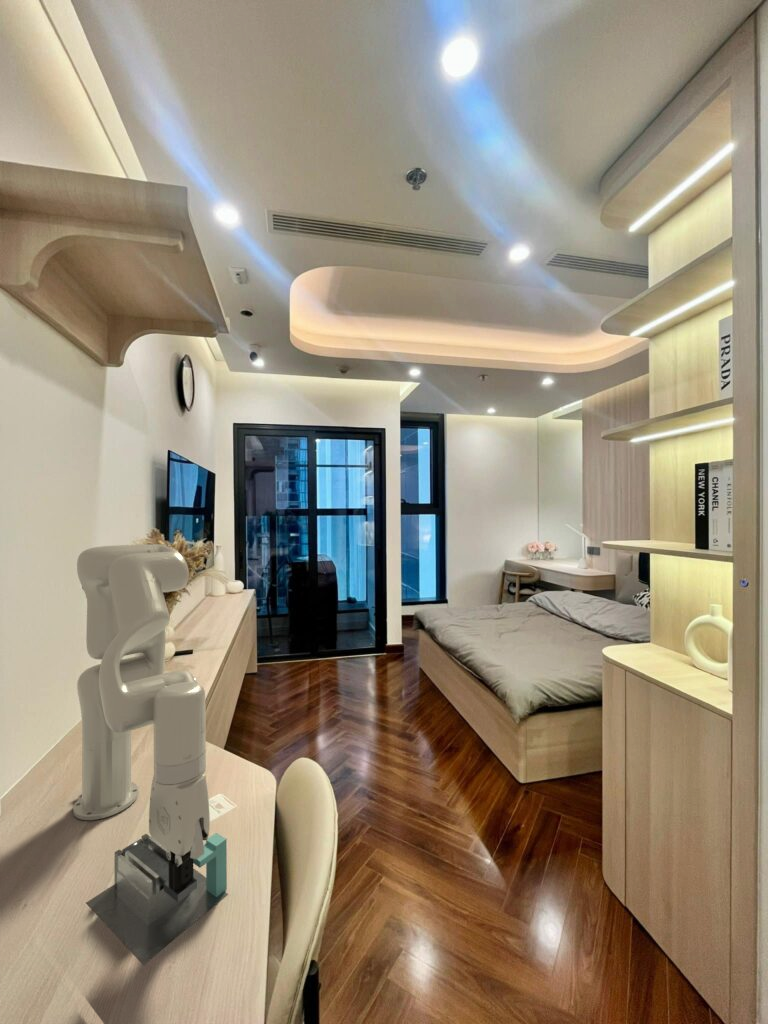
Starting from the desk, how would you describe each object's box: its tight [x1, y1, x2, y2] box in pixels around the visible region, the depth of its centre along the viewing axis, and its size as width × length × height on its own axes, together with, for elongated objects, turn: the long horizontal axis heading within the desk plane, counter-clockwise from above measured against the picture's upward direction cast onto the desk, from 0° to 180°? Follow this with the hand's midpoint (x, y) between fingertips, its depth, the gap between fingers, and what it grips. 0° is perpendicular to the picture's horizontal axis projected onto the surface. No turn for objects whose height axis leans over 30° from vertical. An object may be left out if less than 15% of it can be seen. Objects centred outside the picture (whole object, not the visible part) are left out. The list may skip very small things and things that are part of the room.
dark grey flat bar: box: [121, 838, 197, 902], centre depth 73 cm, size 18×3×1 cm, turn 56°
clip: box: [193, 832, 228, 897], centre depth 73 cm, size 3×5×8 cm, turn 146°
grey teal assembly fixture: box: [85, 833, 229, 965], centre depth 73 cm, size 18×14×7 cm
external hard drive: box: [208, 793, 238, 823], centre depth 94 cm, size 2×8×12 cm
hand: (181, 882), depth 69 cm, fingers closed
